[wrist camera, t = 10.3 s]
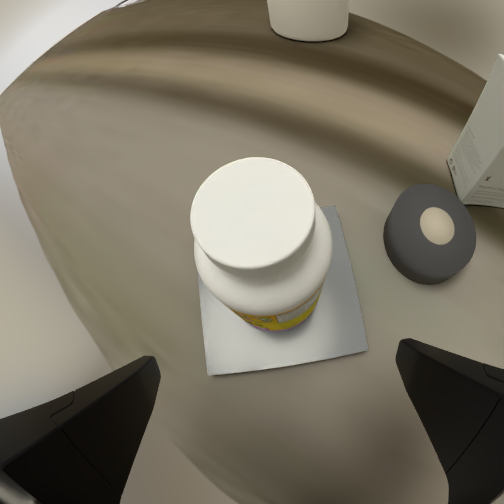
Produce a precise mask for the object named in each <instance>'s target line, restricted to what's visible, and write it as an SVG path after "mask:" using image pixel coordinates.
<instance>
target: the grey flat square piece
mask: <svg viewBox="0 0 504 504" xmlns="http://www.w3.org/2000/svg"><path fill="white" fill-rule="evenodd" d="M320 209H321V210H322V212H323V213H324V215H325V217H326V219H327V221H328V224H329V226H330V230H331V234H332V242H333V251H332V258H331V263H330V267H329V270H328V273H327V276H326V278H325V281H324V284H323V287H322V291H321V293H320V296H319V299H318V302H317V304H316V306H315V308H314V310H313V311H312V313H311V314H310V315H309V316H308V318H306V319H305V320H304V321H303V322H302V323H300V324H299V325H297V326H295V327H293V328H291V329H288V330H285V331H278V332H271V331H264V330H261V329H258V328H255V327H253V326H251V325H250V324H248V323H247V322H245V321H244V320H243V319H241V318H240V317H239V316H238V315H236V314H235V313H234V312H233V311H231V310H230V309H229V308H228V307H227V306H225V305H224V304H223V303H221V302H220V301H219V300H218V299H217V298H216V297H215V296H213V294H212V293H211V292H210V291H209V290H208V289H207V287H206V286H205V284H204V283H203V281H202V279H201V277H200V275H199V273H198V279H199V292H200V304H201V315H202V325H203V335H204V345H205V354H206V363H207V371H208V375H219V374H229V373H238V372H247V371H255V370H263V369H270V368H277V367H284V366H290V365H296V364H302V363H308V362H314V361H319V360H324V359H329V358H334V357H339V356H344V355H349V354H353V353H358V352H362V351H366V350H368V345H367V339H366V334H365V328H364V323H363V318H362V313H361V308H360V303H359V299H358V294H357V289H356V285H355V280H354V276H353V272H352V267H351V263H350V259H349V255H348V251H347V247H346V243H345V239H344V236H343V232H342V228H341V224H340V221H339V217H338V214H337V210H336V206H335V205H334V206H328V207H322V208H320Z"/></svg>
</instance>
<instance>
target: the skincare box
mask: <svg viewBox="0 0 504 504" xmlns="http://www.w3.org/2000/svg"><path fill="white" fill-rule="evenodd" d="M447 162H448V165H449V168H450V171H451V174H452V177H453V181H454V185H455V189H456V192H457V196H458V199H459V200H460V201H461V202H462V203H463V204H475V205H486V206H494V207H501V208H504V55H502V54H498V57H497V60H496V62H495V65H494V67H493V69H492V72H491V74H490V76H489V79H488V81H487V83H486V85H485V87H484V89H483V91H482V94H481V96H480V98H479V100H478V102H477V104H476V106H475V108H474V110H473V112H472V114H471V116H470V118H469V120H468V122H467V124H466V125H465V127H464V129H463V131H462V133H461V135H460V136H459V138H458V140H457V142H456V144H455V145H454V147H453V149H452V150H451V152H450V154H449V156H448V157H447Z"/></svg>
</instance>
